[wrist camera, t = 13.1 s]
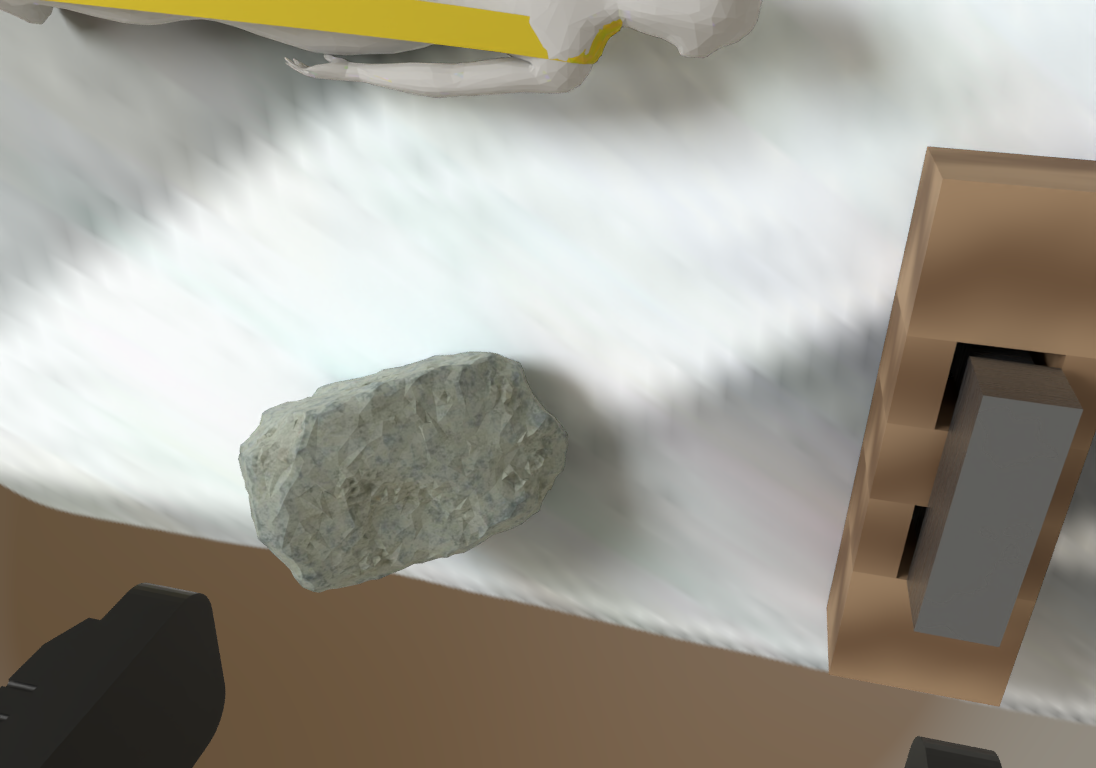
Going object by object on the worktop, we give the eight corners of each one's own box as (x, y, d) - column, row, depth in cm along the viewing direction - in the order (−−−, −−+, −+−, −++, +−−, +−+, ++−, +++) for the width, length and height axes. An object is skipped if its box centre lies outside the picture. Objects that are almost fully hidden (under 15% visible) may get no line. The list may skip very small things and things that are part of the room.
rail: (927, 146, 35) (942, 178, 31) (1133, 164, 34) (1176, 199, 30) (826, 607, 46) (829, 674, 42) (982, 634, 44) (999, 706, 40)
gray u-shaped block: (950, 302, 38) (983, 395, 31) (1031, 312, 37) (1083, 409, 30) (896, 510, 42) (913, 631, 36) (967, 521, 42) (999, 647, 35)
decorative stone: (290, 496, 50) (330, 662, 43) (196, 344, 42) (226, 518, 35) (528, 399, 52) (604, 542, 45) (481, 235, 44) (565, 379, 37)
